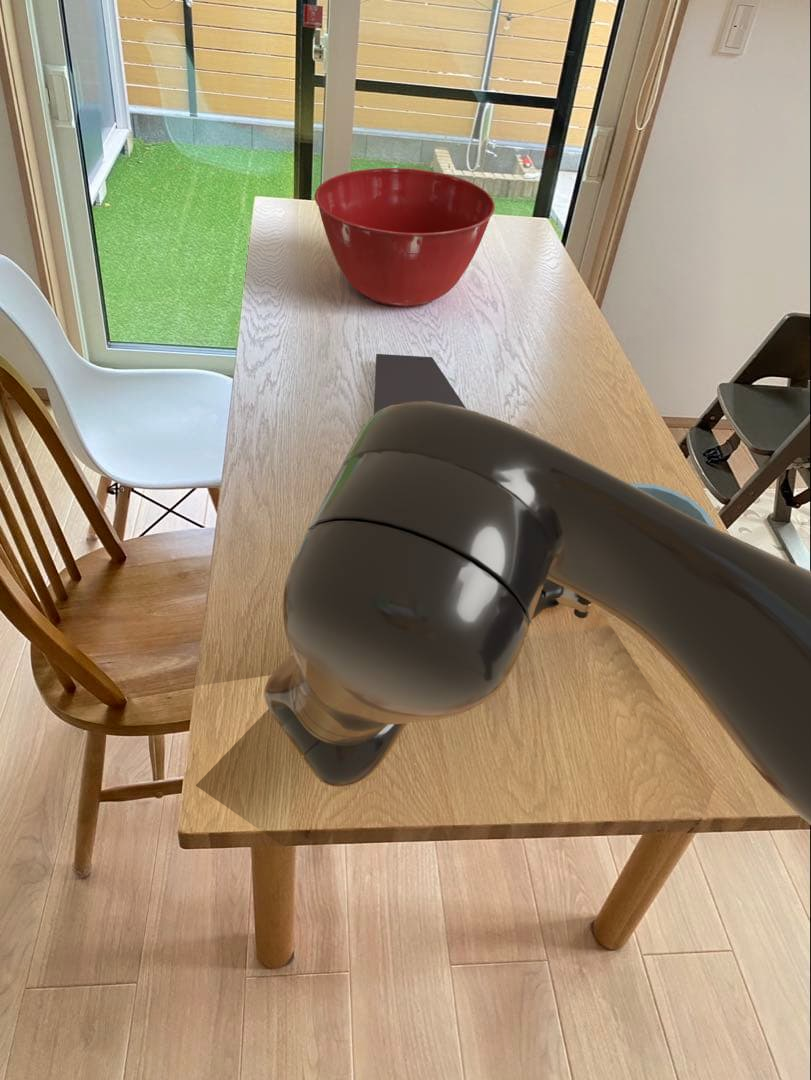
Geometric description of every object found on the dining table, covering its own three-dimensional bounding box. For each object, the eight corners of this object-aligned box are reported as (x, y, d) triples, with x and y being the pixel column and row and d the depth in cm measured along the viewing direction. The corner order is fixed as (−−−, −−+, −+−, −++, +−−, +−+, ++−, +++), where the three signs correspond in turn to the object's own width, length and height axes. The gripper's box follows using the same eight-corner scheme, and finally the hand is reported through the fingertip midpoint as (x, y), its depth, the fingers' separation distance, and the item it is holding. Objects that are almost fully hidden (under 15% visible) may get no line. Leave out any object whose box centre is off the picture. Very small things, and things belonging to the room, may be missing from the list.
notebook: (375, 362, 115) (372, 448, 99) (376, 353, 114) (372, 438, 98) (461, 368, 116) (471, 453, 100) (463, 358, 114) (473, 443, 99)
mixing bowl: (330, 333, 120) (331, 233, 110) (304, 257, 141) (302, 166, 130) (503, 325, 127) (519, 229, 116) (454, 252, 147) (464, 165, 136)
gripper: (547, 626, 62) (662, 533, 72) (421, 535, 69) (541, 461, 79) (530, 684, 67) (639, 590, 77) (414, 594, 74) (528, 518, 84)
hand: (589, 525), depth 78 cm, fingers closed on salt shaker, 3 cm apart
